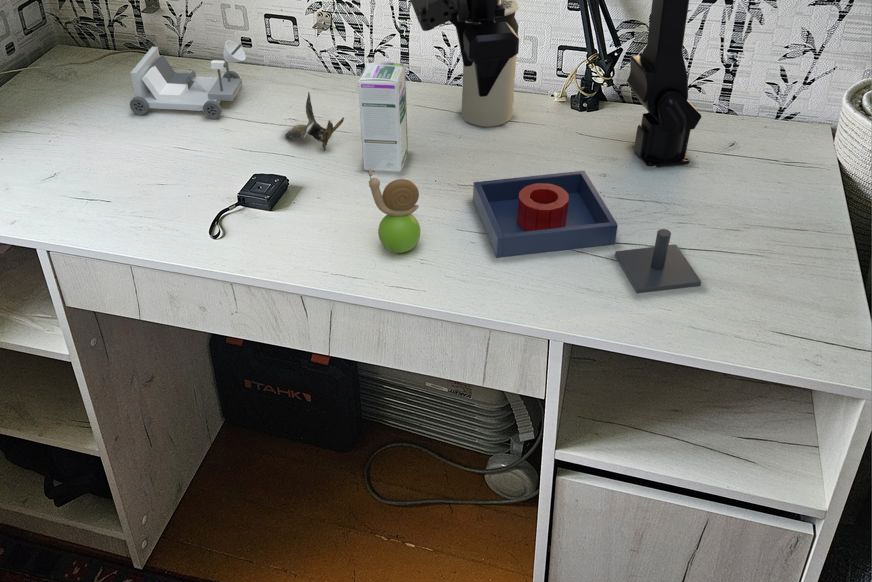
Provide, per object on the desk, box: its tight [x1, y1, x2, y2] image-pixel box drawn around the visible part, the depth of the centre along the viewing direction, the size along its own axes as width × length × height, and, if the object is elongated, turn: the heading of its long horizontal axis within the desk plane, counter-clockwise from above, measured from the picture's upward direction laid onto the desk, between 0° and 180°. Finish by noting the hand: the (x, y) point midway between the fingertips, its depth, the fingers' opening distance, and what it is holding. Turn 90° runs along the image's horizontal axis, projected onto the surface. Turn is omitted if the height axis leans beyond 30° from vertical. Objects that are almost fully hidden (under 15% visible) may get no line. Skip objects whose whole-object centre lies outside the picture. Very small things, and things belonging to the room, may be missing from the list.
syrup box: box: [357, 61, 409, 173], centre depth 134 cm, size 6×6×14 cm
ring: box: [517, 183, 569, 232], centre depth 124 cm, size 7×7×4 cm
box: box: [472, 170, 619, 259], centre depth 125 cm, size 16×14×3 cm
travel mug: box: [461, 0, 519, 128], centre depth 143 cm, size 8×8×18 cm
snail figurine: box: [367, 169, 421, 254], centre depth 118 cm, size 5×6×12 cm
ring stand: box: [614, 228, 702, 294], centre depth 115 cm, size 8×8×6 cm
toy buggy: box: [129, 39, 247, 120], centre depth 153 cm, size 18×10×12 cm
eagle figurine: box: [284, 91, 345, 152], centre depth 143 cm, size 8×7×9 cm
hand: (475, 80), depth 126 cm, fingers open, 9 cm apart
